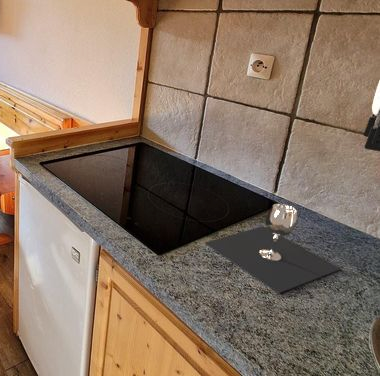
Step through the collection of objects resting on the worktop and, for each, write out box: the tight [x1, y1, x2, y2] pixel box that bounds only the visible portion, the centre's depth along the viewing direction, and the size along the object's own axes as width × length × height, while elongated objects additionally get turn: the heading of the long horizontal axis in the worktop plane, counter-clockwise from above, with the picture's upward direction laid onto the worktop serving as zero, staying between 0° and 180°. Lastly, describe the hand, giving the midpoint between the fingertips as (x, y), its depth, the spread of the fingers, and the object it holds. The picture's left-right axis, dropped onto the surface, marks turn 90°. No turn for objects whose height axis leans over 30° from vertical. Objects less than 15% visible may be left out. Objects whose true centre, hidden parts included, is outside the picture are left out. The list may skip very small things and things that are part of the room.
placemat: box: [204, 225, 342, 295], centre depth 93 cm, size 20×20×1 cm
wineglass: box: [260, 203, 298, 261], centre depth 90 cm, size 6×6×12 cm
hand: (373, 143), depth 79 cm, fingers open, 9 cm apart
